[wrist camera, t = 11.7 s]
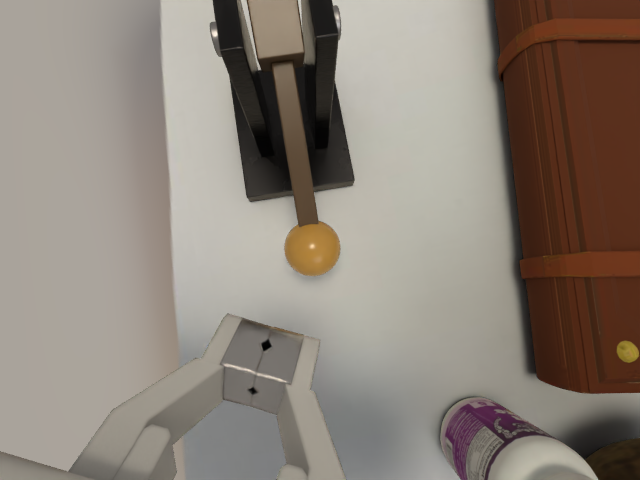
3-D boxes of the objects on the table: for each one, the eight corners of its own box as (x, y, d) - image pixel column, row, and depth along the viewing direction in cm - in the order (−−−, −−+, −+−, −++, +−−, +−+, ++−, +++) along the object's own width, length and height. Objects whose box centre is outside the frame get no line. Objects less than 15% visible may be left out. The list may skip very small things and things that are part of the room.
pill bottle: (524, 412, 22) (683, 505, 13) (501, 491, 21) (654, 654, 12) (451, 381, 22) (553, 449, 13) (426, 458, 22) (515, 591, 12)
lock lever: (339, 260, 20) (348, 279, 17) (289, 269, 20) (289, 289, 17) (303, 8, 16) (306, -26, 13) (242, 16, 16) (231, -16, 13)
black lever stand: (352, 185, 24) (388, 89, 13) (249, 202, 24) (190, 119, 12) (330, 70, 26) (343, -109, 14) (232, 84, 26) (165, -88, 14)
